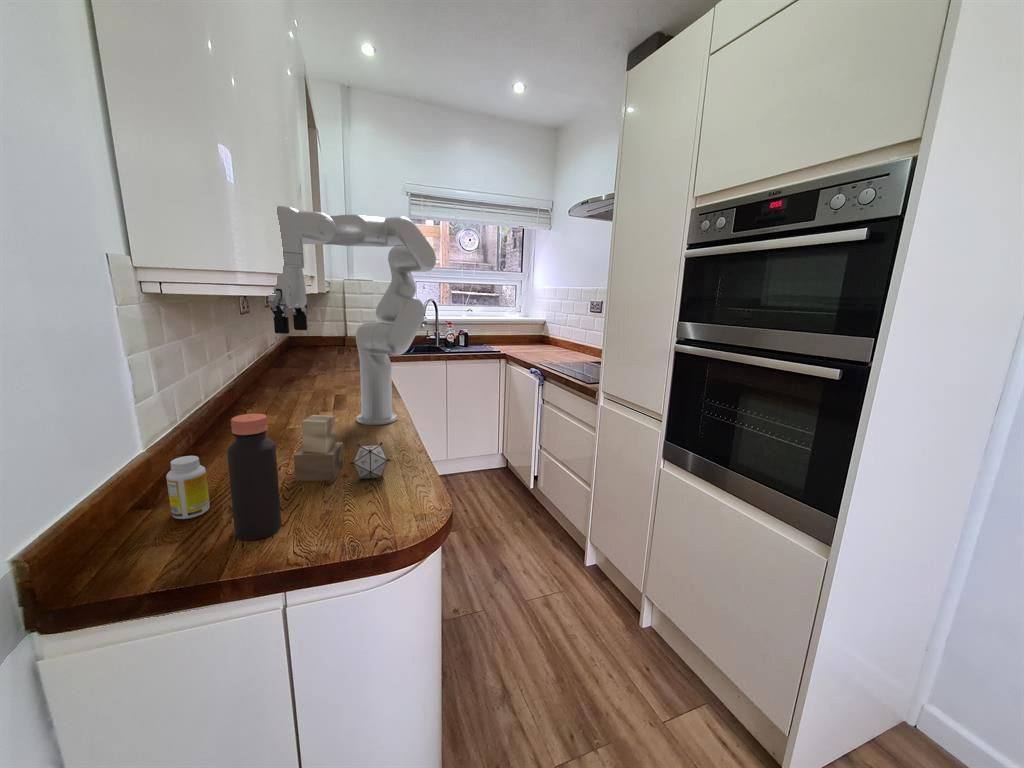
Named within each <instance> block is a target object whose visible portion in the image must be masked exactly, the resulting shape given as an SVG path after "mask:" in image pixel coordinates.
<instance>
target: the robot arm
mask: <svg viewBox="0 0 1024 768" xmlns="http://www.w3.org/2000/svg"><path fill="white" fill-rule="evenodd" d="M277 206H278V207H277V215H278V220H279V225H280V232H281V239H282V247H283V257H284V258H283V259H284V266H283V273H282V274H279V275H278V276H277V284H276V285H275V286H274V289H273V290H274V293H272V294H276V295H269V294H268V304H269V306H270V310H271V312H272V313H271V316H272V317H273V325H274V333H275V334H285V335H286V334H287V335H288V334H289V333H290V323H289V320H290V319H289V316H287V315H288V311H289V309H292V311H293V312H294V313H293V314H292V320H293V329H294V331H307V330H308V319H307V317H308V316H307V314H308V311H307V309H308V305H307V304H308V297H307V293H306V282H305V276H304V275H305V274H304V269H305V257H304V245H327V246H329V245H331V246H341V247H342V246H344V247H379V248H381V247H384V248H388V247H391V249H390V250H389V252H388V254H387V261H388V266H389V269H390V274H391V281H390V283H389V286H388V287H387V289H386V291H385V292H384V294H383V296H382V297H381V298H380V300H379V302H378V304H377V307H376V308H375V316H376V319H377V320H378V321H367V322H364V323H362V324H361V325H359V326H358V327H357V330H356V331H355V332H356V333H355V343H356V346H357V347H356V348H357V350H358V356H359V371H360V372H359V374H360V376H359V377H360V379H359V380H360V404H361V405H360V407H361V409H360V411H361V413H360V414H358V415H357V416H356V418H355V419H356V422H357V423H359V424H361V425H366V426H367V425H368V426H381V425H387V424H391V423H394V422H396V421H397V420H398V415H397V414H396V413H395V412H393V399H392V398H393V384H392V383H393V382H392V381H393V380H392V379H393V378H392V374H393V373H392V372H393V371H392V369H393V368H392V367H393V366H392V363H391V359H390V357H389V355H391V356H392V355H393V356H400V355H403V354H404V353H406V352H407V351H408V350H409V349H410V347H411V345H412V343H413V341H414V340H415V337H416V336H417V334H418V332H419V330H420V329H421V326H422V324H423V321H424V319H425V307H424V303H423V302H422V301H421V300H420V299H419V298H417V297H415V295H416V291H417V286H416V283H415V281H414V277H413V274H412V273H415V272H419V273H421V272H422V273H426V272H430V271H432V269H434V267H435V265H436V263H437V262H436V261H437V257H436V252H435V250H434V248H433V246H432V245H431V243H430V242H429V241H428V240H427V238H426V237H425V236H424V234H423V233H422V231H421V230H420V229H419V227H418V226H417V225H416V224H415V222H413V220H411V219H409V218H408V217H406V216H393V217H392V216H391V217H389V216H388V217H386V216H385V217H383V216H372V215H363V214H339V215H328V214H326V213H324V212H322V211H321V212H319V211H309V210H299V209H296V208H294V207H290V206H284V205H277Z"/></svg>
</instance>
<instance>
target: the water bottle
mask: <svg viewBox="0 0 1024 768" xmlns="http://www.w3.org/2000/svg"><path fill="white" fill-rule="evenodd" d="M230 423H231V432H232V437H234V439H235V440H234V441H233V443H231V444H230V446H229V447H227V450H226V454H227V463H228V464H227V465H228V476H229V477H228V478H229V487H230V488H229V489H230V496H231V505H232V516H233V527H234V535H235V537H236V538H237V539H238V540H241V541H248V542H249V541H257V540H258V541H259V540H261V539H264V538H268V537H270V536H272V535H274V534H275V533H277V532H278V531H279V530H280V528H281V526H282V517H281V516H282V515H281V500H280V499H281V498H280V488H279V475H278V474H279V473H278V461H277V460H278V459H277V447H276V443H275V441H273V440H271V439H270V438H269V437H268V436H267V433H268V431H269V430H268V425H269V424H268V415H266V414H264V413H244V414H240V415H236V416H234V417H232V418H231V419H230Z"/></svg>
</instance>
